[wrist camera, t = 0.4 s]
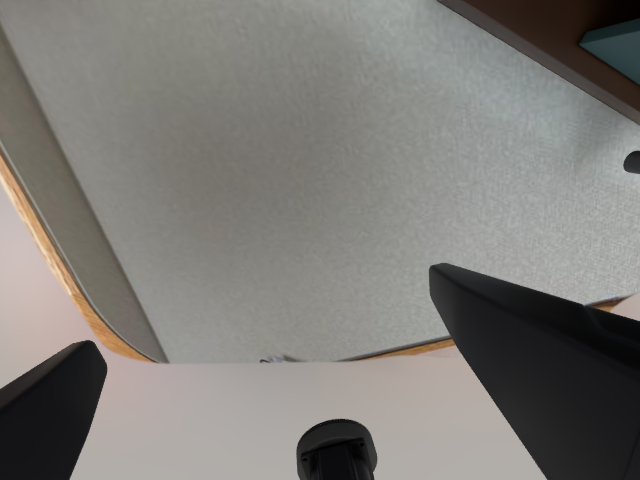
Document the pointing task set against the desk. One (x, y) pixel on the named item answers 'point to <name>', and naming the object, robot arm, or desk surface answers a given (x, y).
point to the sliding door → (619, 60)
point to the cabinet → (562, 40)
